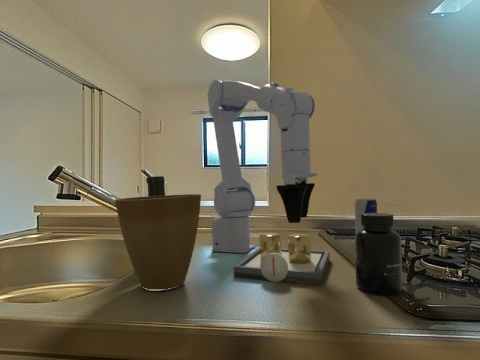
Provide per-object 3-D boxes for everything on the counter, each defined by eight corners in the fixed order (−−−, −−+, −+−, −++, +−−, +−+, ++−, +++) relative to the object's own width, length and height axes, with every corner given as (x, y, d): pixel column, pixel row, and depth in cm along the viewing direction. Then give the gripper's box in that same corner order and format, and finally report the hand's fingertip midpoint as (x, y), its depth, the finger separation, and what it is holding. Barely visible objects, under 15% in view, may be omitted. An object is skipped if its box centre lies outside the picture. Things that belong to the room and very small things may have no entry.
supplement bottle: (401, 299, 44) (398, 217, 44) (352, 291, 48) (349, 216, 48) (404, 284, 50) (401, 212, 50) (360, 278, 54) (358, 211, 54)
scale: (232, 278, 56) (231, 251, 56) (259, 256, 72) (258, 235, 72) (320, 286, 51) (319, 256, 51) (329, 260, 66) (328, 237, 66)
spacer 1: (257, 261, 61) (256, 236, 61) (263, 255, 66) (263, 232, 66) (278, 262, 60) (277, 237, 60) (283, 257, 64) (283, 233, 64)
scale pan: (243, 269, 58) (243, 266, 58) (263, 253, 70) (263, 250, 70) (313, 275, 53) (313, 272, 53) (322, 256, 65) (321, 253, 65)
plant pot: (213, 272, 61) (210, 192, 61) (188, 302, 46) (184, 197, 46) (144, 271, 63) (141, 194, 63) (99, 299, 49) (95, 199, 49)
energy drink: (380, 247, 76) (379, 199, 76) (358, 247, 77) (356, 200, 77) (375, 243, 81) (374, 198, 81) (354, 243, 82) (353, 198, 82)
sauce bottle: (180, 259, 72) (176, 175, 72) (163, 266, 66) (159, 175, 66) (158, 257, 75) (155, 176, 75) (140, 264, 69) (136, 177, 69)
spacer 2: (286, 263, 59) (285, 237, 59) (291, 257, 63) (290, 233, 63) (309, 264, 58) (308, 238, 58) (312, 258, 62) (311, 234, 62)
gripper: (310, 147, 52) (313, 225, 52) (320, 153, 66) (322, 215, 66) (271, 150, 55) (273, 225, 55) (288, 155, 68) (290, 215, 68)
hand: (298, 219), depth 61 cm, fingers open, 7 cm apart
